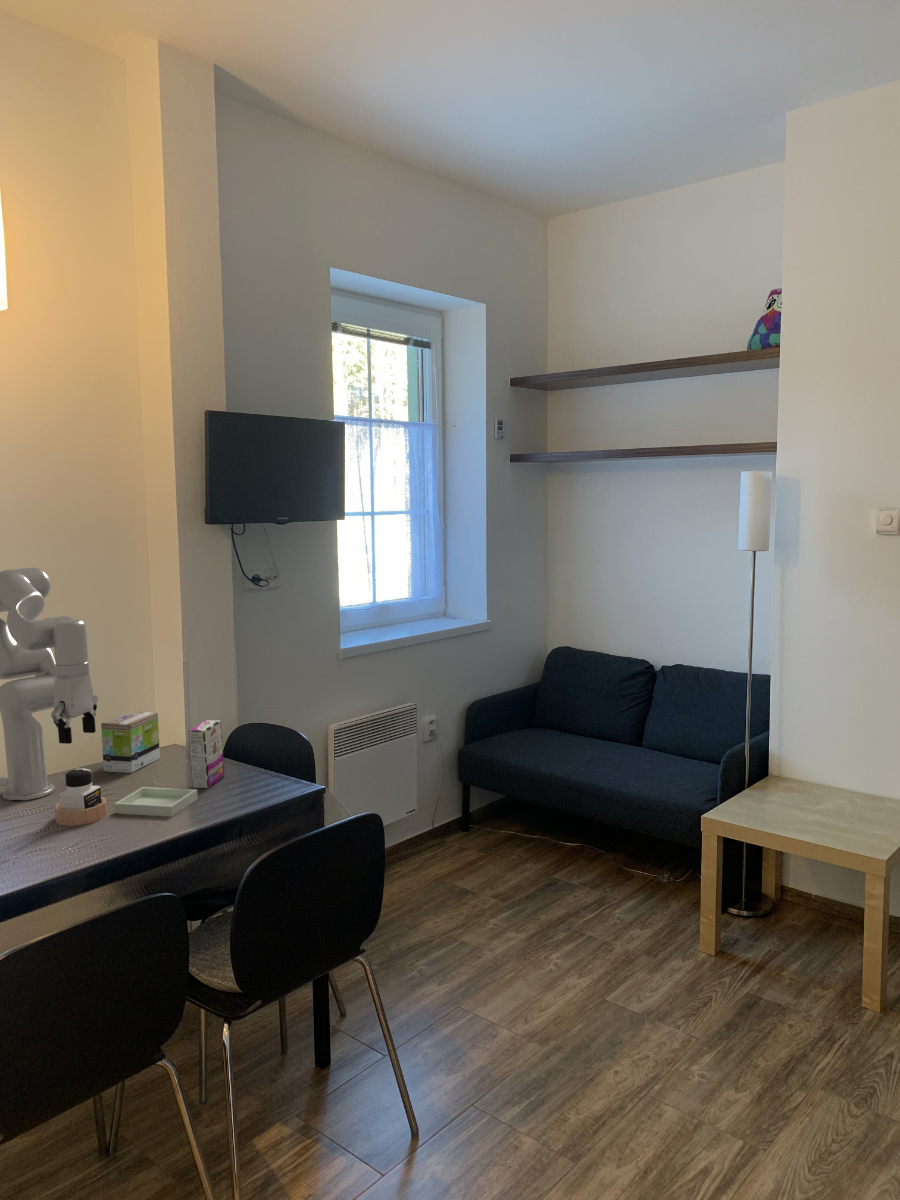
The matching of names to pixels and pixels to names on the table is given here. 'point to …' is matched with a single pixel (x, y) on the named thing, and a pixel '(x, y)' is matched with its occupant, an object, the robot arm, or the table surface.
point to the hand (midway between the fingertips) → (77, 737)
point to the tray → (156, 801)
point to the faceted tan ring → (81, 814)
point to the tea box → (130, 741)
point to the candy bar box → (206, 753)
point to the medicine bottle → (79, 791)
